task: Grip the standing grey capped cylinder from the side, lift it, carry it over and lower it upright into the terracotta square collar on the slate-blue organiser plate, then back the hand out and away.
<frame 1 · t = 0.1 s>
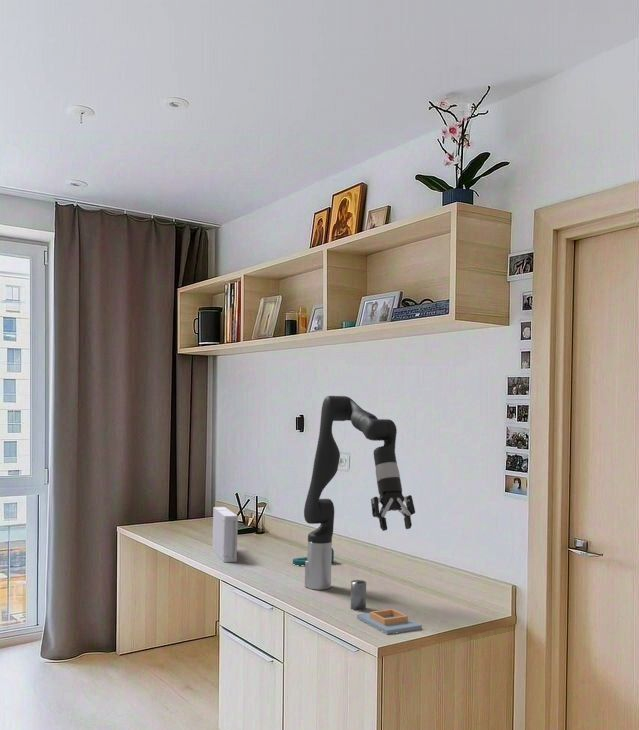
hand: (396, 529, 228), 31 cm above the table, tool tilted 20°, fingers open, 8 cm apart
game console: (223, 556, 329), on the table
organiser: (388, 623, 234), on the table
bracket: (311, 564, 318), on the table
grey capped cylinder: (358, 608, 251), on the table
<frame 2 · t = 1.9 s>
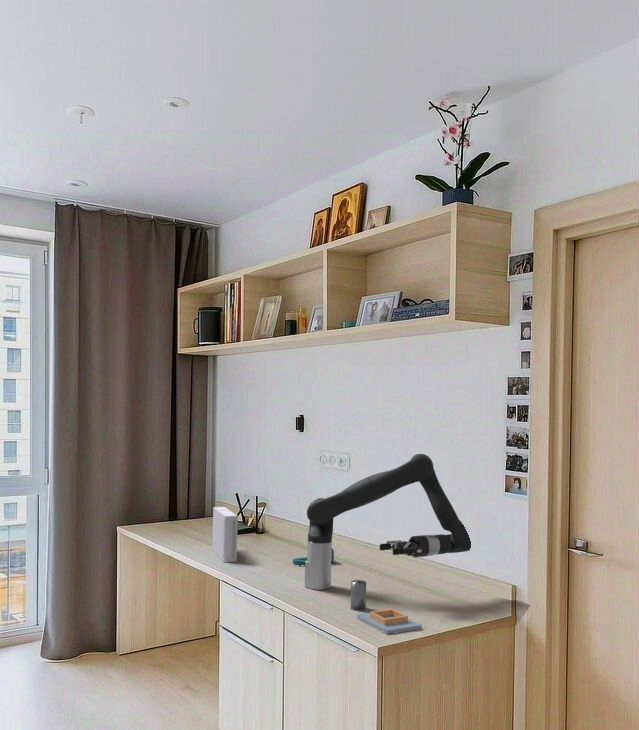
hand: (386, 549, 257), 19 cm above the table, tool horizontal, fingers open, 8 cm apart
nothing on the table moved.
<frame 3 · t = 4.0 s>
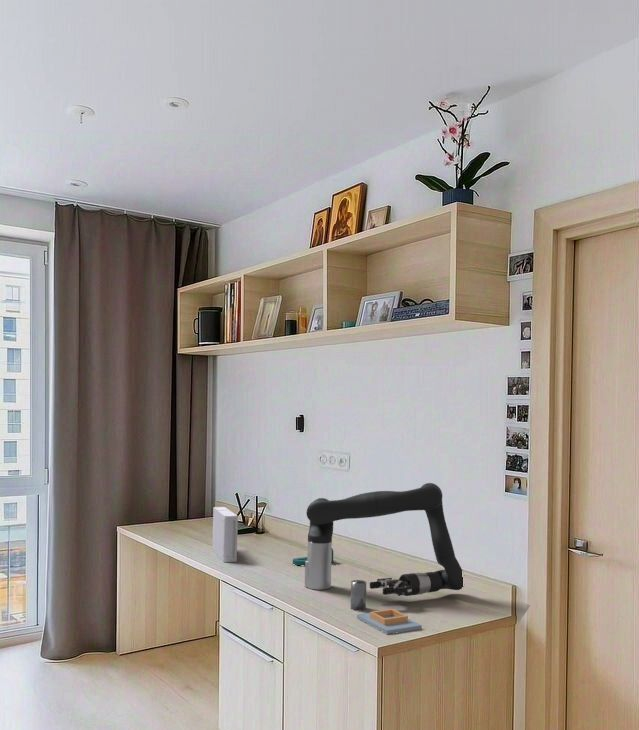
hand: (376, 588, 255), 6 cm above the table, tool horizontal, fingers open, 8 cm apart
nothing on the table moved.
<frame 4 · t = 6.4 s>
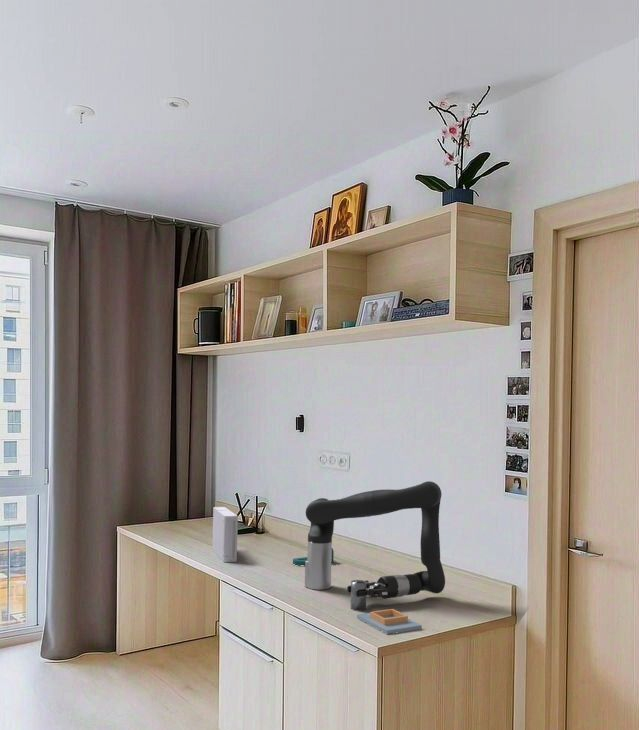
hand: (352, 591, 250), 6 cm above the table, tool horizontal, fingers closed on grey capped cylinder, 5 cm apart
grey capped cylinder: (358, 608, 251), on the table, touching gripper
everything else where it was.
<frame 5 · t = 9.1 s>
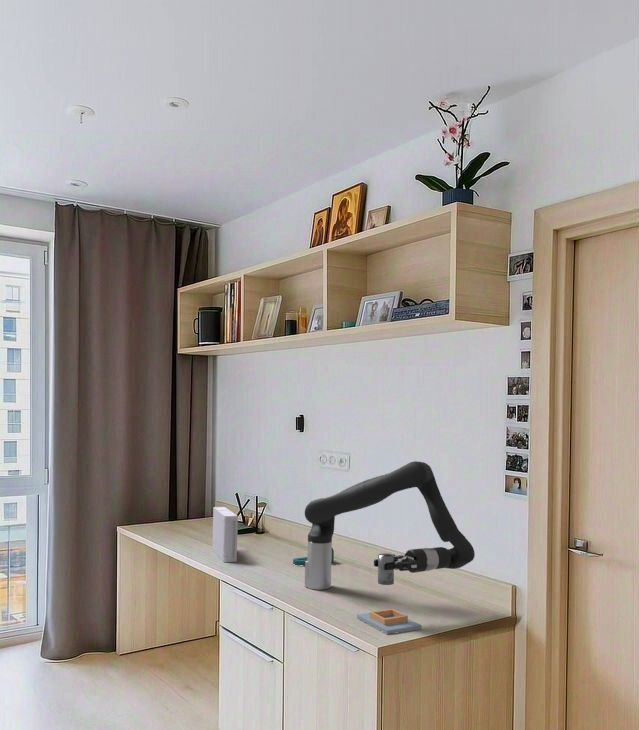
hand: (379, 565, 237), 18 cm above the table, tool horizontal, fingers closed on grey capped cylinder, 5 cm apart
grey capped cylinder: (385, 583, 238), point 12 cm above the table, touching gripper
everything else where it was.
when the fingers open (9 cm above the table, at t = 12.1 s): grey capped cylinder drops 1 cm, resting on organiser.
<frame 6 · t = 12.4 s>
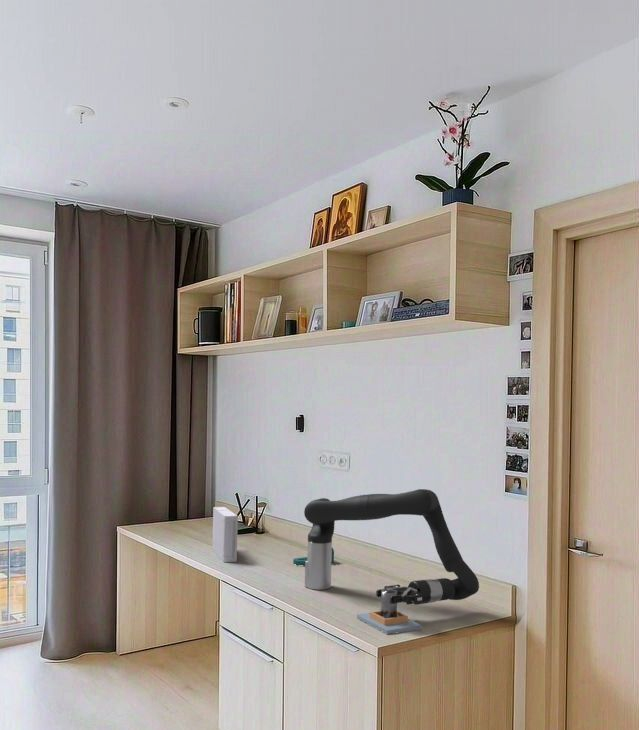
hand: (383, 596, 234), 9 cm above the table, tool horizontal, fingers open, 8 cm apart
grey capped cylinder: (388, 619, 235), point 1 cm above the table, touching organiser
everything else where it was.
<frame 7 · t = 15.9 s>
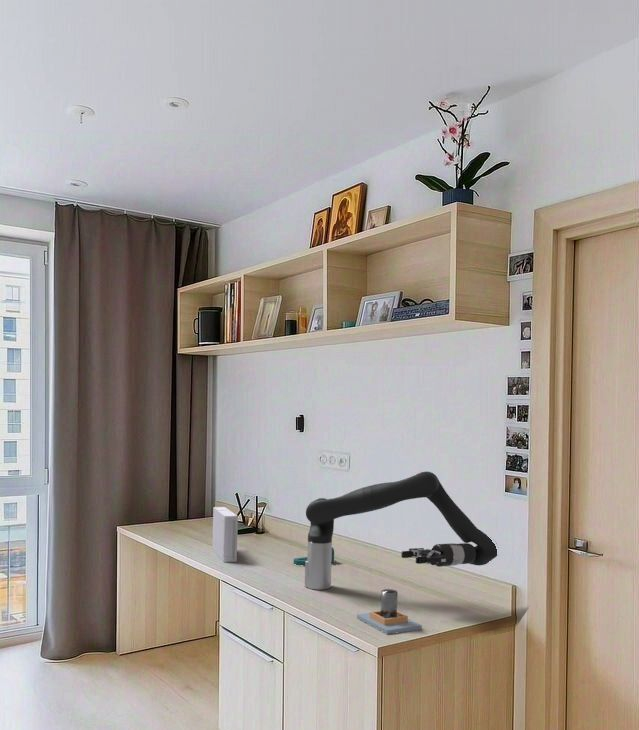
hand: (409, 557, 246), 19 cm above the table, tool horizontal, fingers open, 8 cm apart
nothing on the table moved.
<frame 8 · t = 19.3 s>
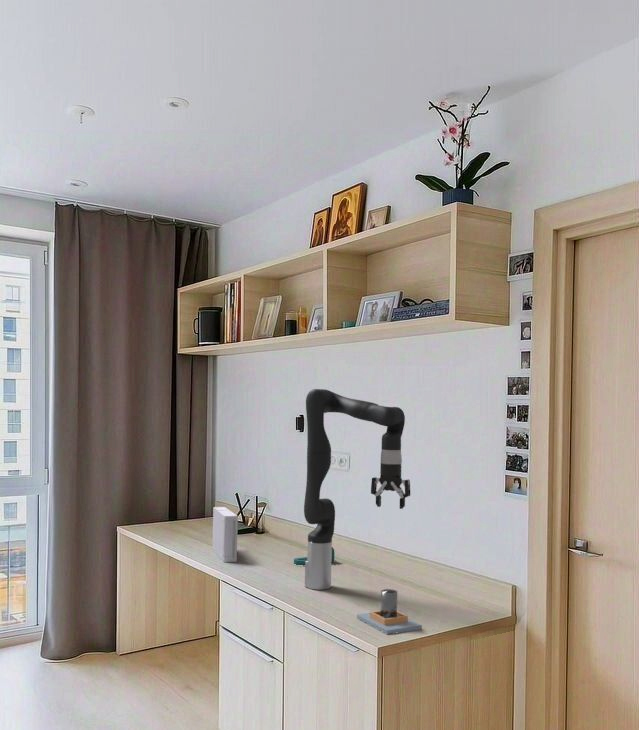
hand: (390, 507, 262), 33 cm above the table, tool pointing down, fingers open, 8 cm apart
nothing on the table moved.
at the end: grey capped cylinder 0.1 cm off-centre on the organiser, point 1.2 cm above the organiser's base; grey capped cylinder tilted 0°; the gripper is holding nothing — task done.
